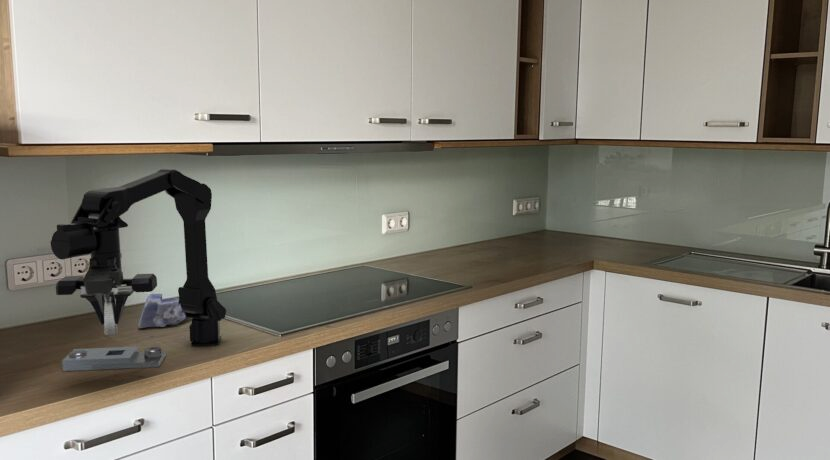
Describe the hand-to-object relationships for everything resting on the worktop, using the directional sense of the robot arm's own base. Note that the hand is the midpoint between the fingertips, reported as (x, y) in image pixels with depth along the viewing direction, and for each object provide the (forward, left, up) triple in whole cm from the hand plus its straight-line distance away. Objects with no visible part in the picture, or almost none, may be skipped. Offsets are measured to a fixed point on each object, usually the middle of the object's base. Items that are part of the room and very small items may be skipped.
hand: (110, 323), depth 147 cm
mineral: (-3, -41, -12) cm, 43 cm away
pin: (0, 0, -2) cm, 2 cm away
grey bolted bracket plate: (+2, -9, -12) cm, 15 cm away
